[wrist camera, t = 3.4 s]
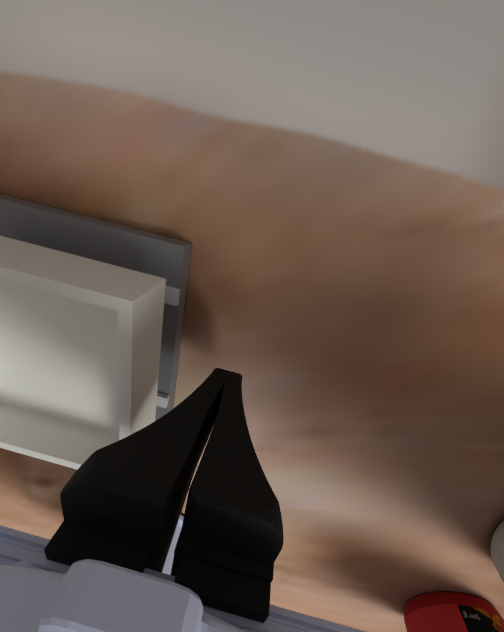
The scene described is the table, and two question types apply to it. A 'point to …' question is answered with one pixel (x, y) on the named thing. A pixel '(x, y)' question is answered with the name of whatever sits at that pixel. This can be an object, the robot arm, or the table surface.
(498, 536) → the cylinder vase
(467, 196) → the table surface
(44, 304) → the white shallow tray
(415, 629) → the canned food
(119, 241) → the track
